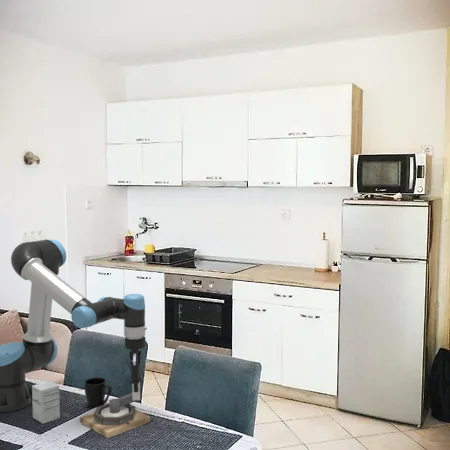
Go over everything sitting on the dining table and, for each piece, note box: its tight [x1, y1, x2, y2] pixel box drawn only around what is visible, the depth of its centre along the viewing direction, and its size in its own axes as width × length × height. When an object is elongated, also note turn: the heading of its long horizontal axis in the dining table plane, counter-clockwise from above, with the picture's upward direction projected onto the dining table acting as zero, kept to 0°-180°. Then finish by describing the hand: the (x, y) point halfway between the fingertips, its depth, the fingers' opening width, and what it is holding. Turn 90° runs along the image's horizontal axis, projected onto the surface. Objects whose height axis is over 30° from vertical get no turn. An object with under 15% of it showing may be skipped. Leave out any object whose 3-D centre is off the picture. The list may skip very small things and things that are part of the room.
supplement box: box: [31, 380, 61, 425], centre depth 201 cm, size 7×7×13 cm
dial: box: [101, 392, 138, 417], centre depth 199 cm, size 15×10×6 cm, turn 140°
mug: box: [84, 377, 113, 408], centre depth 212 cm, size 8×12×10 cm
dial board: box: [79, 402, 151, 439], centre depth 198 cm, size 18×18×4 cm
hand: (136, 399), depth 201 cm, fingers closed
